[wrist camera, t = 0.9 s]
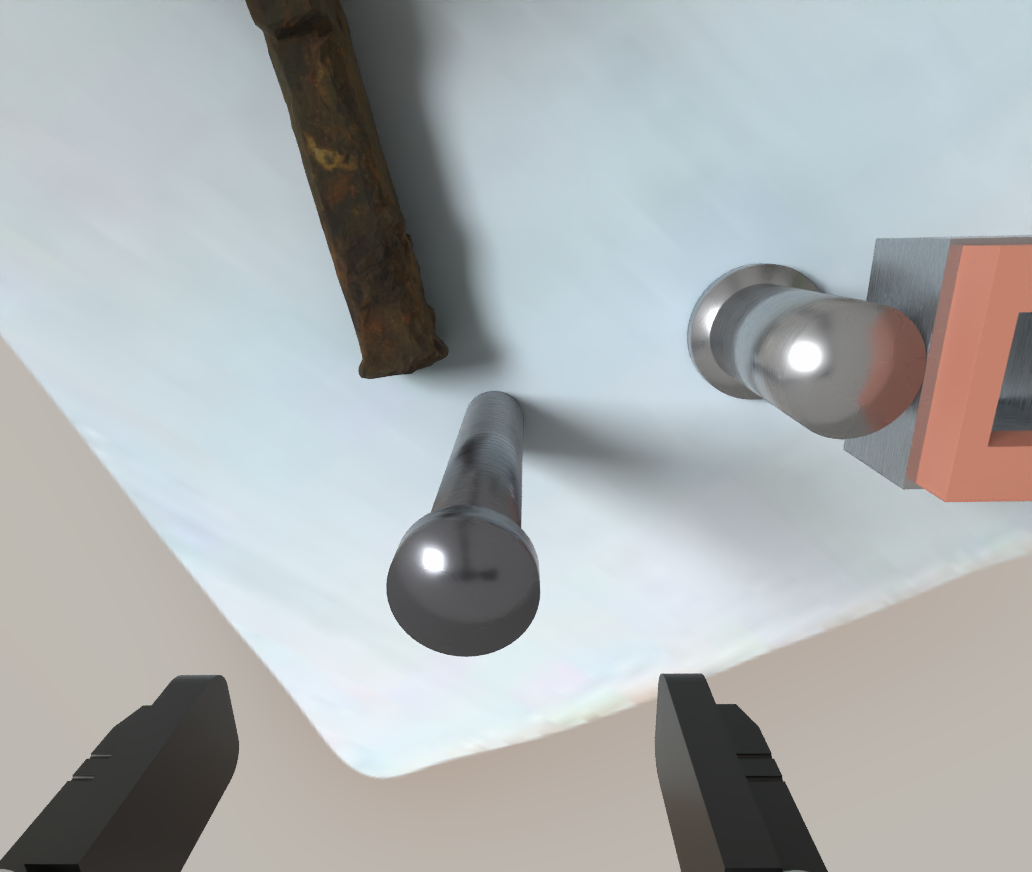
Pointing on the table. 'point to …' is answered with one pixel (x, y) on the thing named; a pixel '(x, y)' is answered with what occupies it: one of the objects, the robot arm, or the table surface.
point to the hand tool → (350, 184)
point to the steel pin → (471, 543)
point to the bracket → (979, 383)
